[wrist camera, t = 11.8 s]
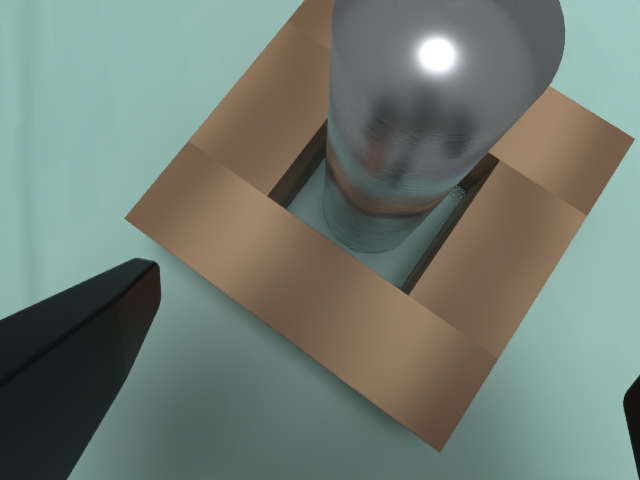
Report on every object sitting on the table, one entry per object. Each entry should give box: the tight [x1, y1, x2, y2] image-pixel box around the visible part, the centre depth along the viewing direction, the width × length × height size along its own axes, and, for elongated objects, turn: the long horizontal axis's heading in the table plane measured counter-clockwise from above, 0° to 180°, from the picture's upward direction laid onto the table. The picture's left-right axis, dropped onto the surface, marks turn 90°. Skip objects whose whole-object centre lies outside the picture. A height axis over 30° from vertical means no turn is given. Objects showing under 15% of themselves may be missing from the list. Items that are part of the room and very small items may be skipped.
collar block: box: [124, 0, 635, 452], centre depth 19 cm, size 14×14×4 cm
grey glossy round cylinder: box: [324, 0, 565, 253], centre depth 15 cm, size 4×4×13 cm
